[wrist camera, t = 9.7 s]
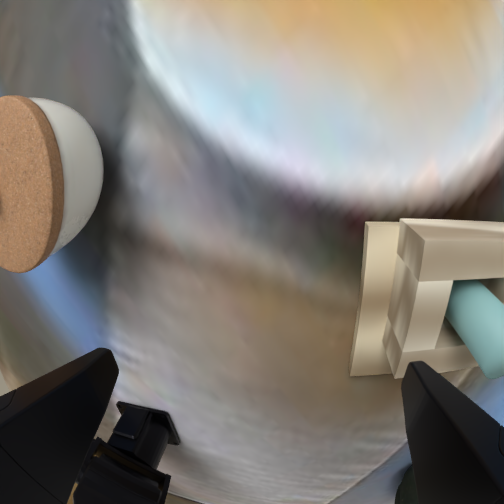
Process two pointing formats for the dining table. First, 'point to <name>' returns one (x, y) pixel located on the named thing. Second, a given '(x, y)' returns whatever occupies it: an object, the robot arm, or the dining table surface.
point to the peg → (478, 324)
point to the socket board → (420, 291)
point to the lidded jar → (44, 179)
